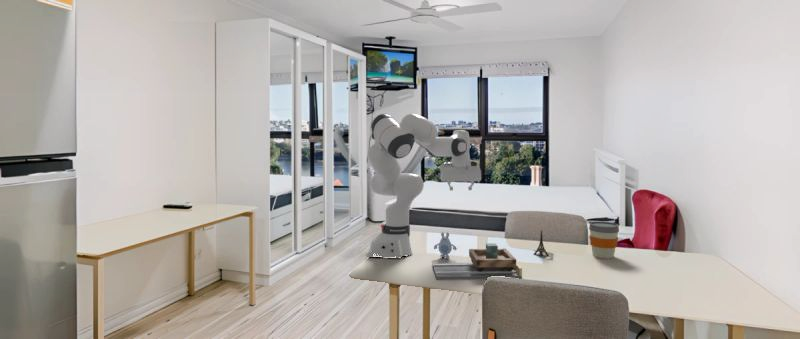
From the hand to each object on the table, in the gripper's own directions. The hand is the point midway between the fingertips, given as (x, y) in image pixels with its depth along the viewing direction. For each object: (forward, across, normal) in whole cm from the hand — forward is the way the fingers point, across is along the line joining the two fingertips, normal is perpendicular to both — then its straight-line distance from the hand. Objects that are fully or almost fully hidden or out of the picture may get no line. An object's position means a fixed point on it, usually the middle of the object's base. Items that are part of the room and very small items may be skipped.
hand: (460, 190), depth 215 cm
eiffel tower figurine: (+30, +36, -16) cm, 49 cm away
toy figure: (+29, -10, -18) cm, 36 cm away
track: (+29, 0, -38) cm, 48 cm away
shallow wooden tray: (+27, +7, -38) cm, 47 cm away
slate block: (+24, +7, -38) cm, 45 cm away
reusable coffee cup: (+29, +64, -18) cm, 73 cm away
